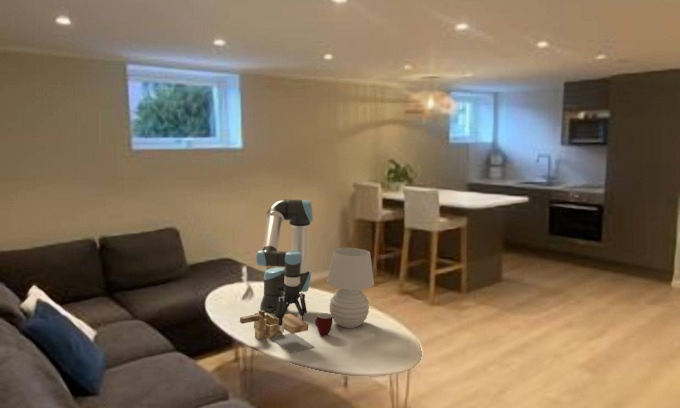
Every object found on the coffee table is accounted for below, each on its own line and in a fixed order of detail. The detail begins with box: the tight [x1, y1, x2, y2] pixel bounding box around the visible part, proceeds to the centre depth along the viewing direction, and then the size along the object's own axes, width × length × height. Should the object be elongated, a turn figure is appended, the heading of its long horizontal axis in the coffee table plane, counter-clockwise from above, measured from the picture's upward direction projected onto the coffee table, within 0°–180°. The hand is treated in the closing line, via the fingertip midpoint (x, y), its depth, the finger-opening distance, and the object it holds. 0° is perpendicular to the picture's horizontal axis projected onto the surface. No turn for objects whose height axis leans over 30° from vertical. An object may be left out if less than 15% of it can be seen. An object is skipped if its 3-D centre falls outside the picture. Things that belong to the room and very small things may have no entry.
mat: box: [270, 332, 315, 354], centre depth 250 cm, size 13×20×1 cm, turn 36°
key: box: [239, 309, 266, 324], centre depth 250 cm, size 12×2×4 cm, turn 126°
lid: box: [274, 313, 309, 334], centre depth 248 cm, size 9×17×3 cm, turn 36°
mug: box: [314, 312, 334, 337], centre depth 262 cm, size 11×8×10 cm
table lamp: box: [326, 247, 375, 329], centre depth 275 cm, size 25×25×40 cm
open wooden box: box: [253, 312, 284, 340], centre depth 261 cm, size 13×16×12 cm
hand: (290, 329), depth 248 cm, fingers closed on lid, 9 cm apart
